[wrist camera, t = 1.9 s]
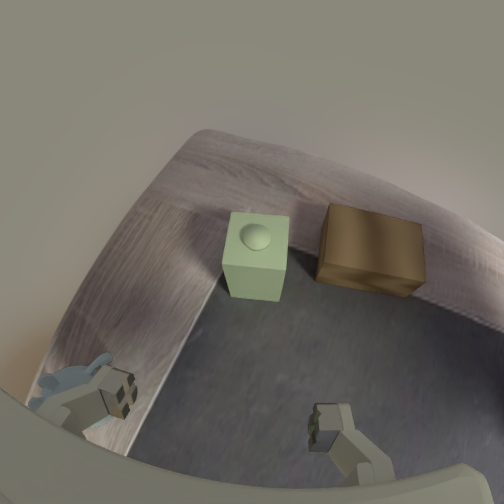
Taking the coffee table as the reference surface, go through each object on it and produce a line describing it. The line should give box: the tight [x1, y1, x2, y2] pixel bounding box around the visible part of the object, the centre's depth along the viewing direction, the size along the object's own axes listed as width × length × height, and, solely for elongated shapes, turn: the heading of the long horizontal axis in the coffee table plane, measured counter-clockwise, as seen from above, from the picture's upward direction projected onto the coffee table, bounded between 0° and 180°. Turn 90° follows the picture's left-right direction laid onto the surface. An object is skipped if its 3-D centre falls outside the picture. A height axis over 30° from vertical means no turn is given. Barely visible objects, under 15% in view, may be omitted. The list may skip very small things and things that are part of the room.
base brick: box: [315, 203, 426, 298], centre depth 28 cm, size 11×7×5 cm, turn 77°
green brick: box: [222, 212, 289, 302], centre depth 26 cm, size 5×5×8 cm
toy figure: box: [28, 353, 113, 428], centre depth 18 cm, size 11×6×12 cm, turn 153°
